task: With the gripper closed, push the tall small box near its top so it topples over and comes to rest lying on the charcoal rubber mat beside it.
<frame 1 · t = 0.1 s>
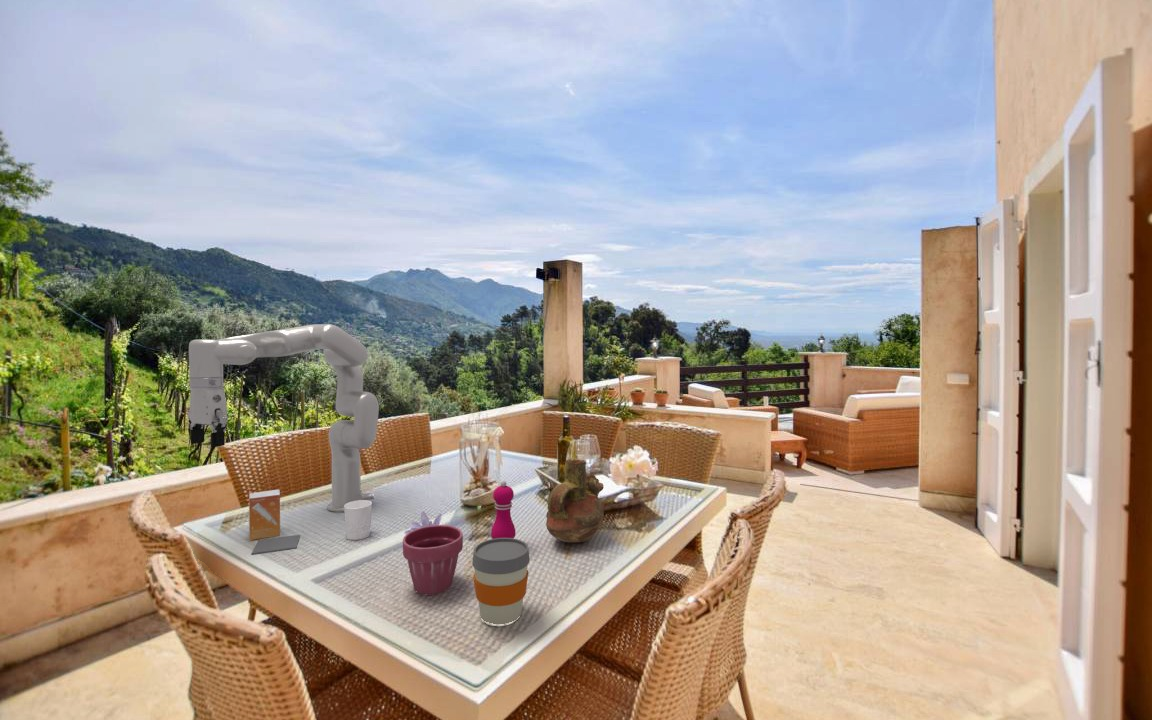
hand: (207, 444, 136), 31 cm above the table, tool pointing down, fingers open, 9 cm apart
mat: (276, 544, 143), on the table
small box: (265, 535, 151), on the table
plant pot: (433, 587, 120), on the table
water lily: (423, 553, 139), on the table
ceramic vessel: (577, 539, 150), on the table
reusable coffee cup: (500, 616, 108), on the table
pepper mill: (503, 548, 143), on the table
white cup: (358, 536, 150), on the table
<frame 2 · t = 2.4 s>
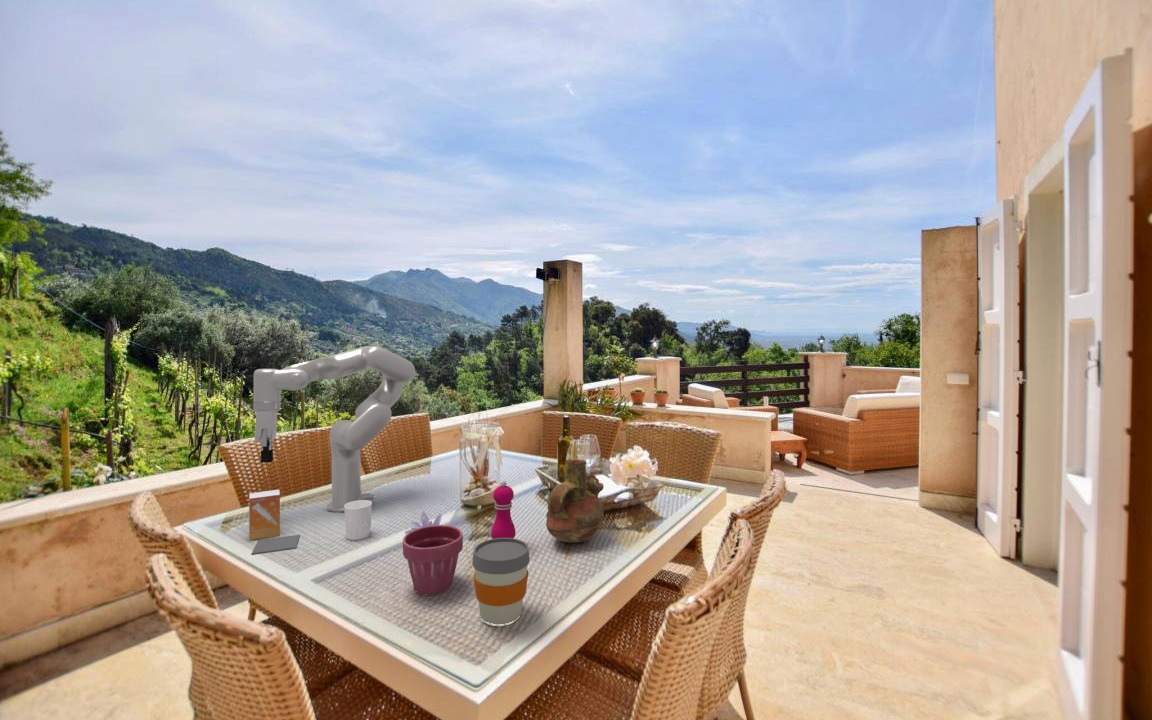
hand: (266, 461, 159), 21 cm above the table, tool pointing down, fingers closed
nothing on the table moved.
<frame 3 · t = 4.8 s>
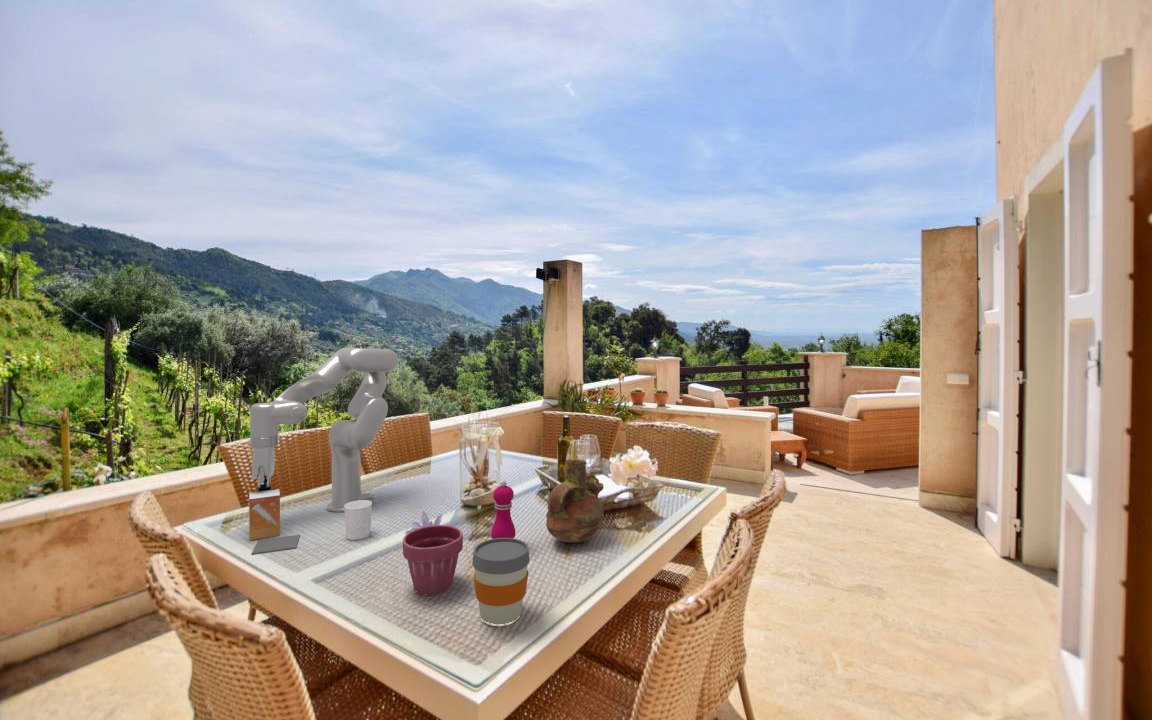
hand: (264, 499, 154), 10 cm above the table, tool pointing down, fingers closed
nothing on the table moved.
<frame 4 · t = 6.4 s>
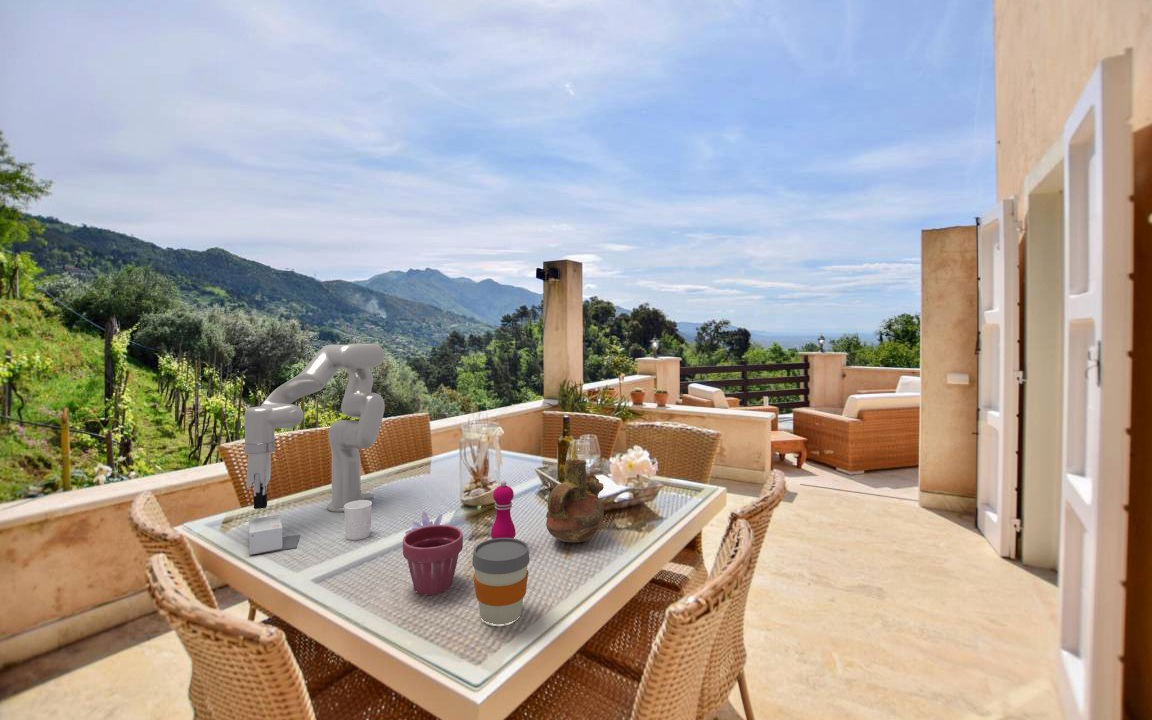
hand: (260, 507, 147), 10 cm above the table, tool pointing down, fingers closed
small box: (265, 526, 148), point 3 cm above the table, touching mat
everything else where it was.
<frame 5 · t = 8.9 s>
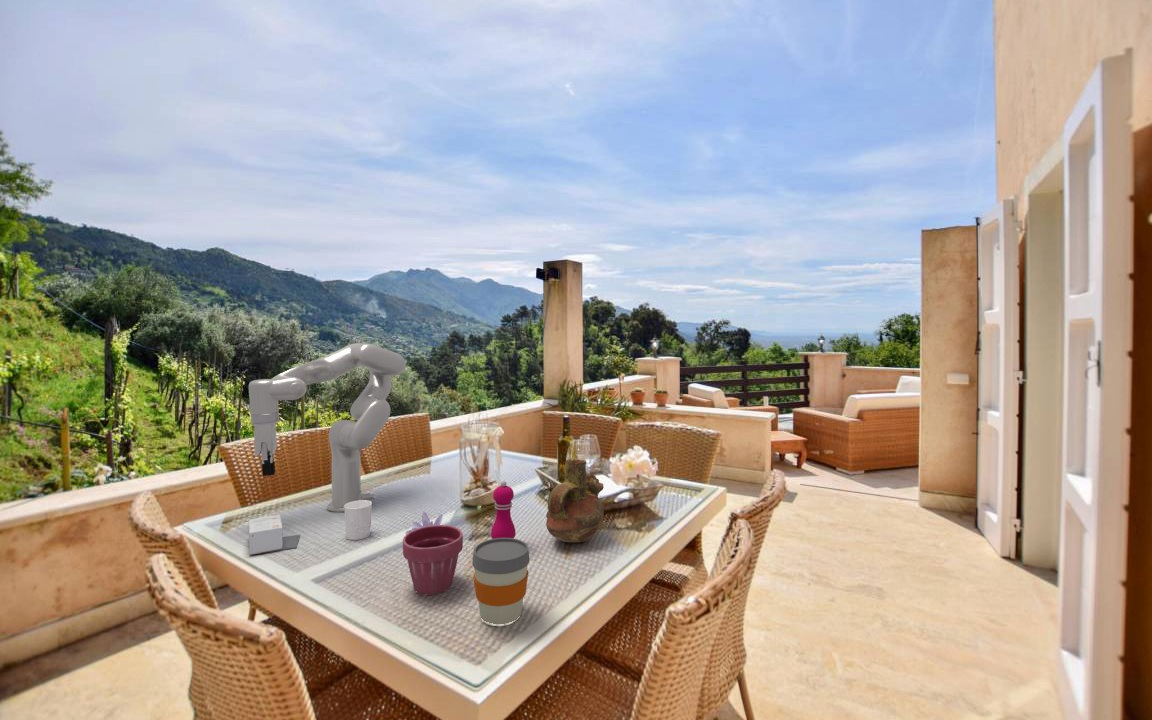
hand: (269, 474, 155), 17 cm above the table, tool pointing down, fingers closed
nothing on the table moved.
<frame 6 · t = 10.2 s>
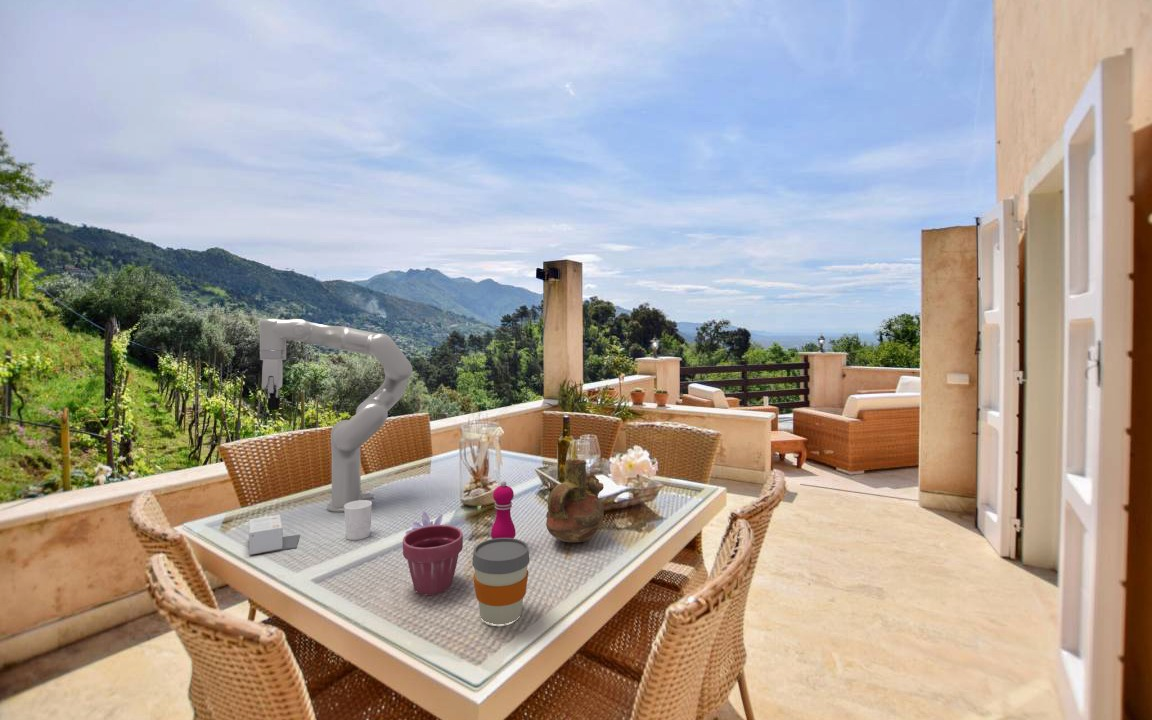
hand: (273, 409, 164), 37 cm above the table, tool pointing down, fingers closed
nothing on the table moved.
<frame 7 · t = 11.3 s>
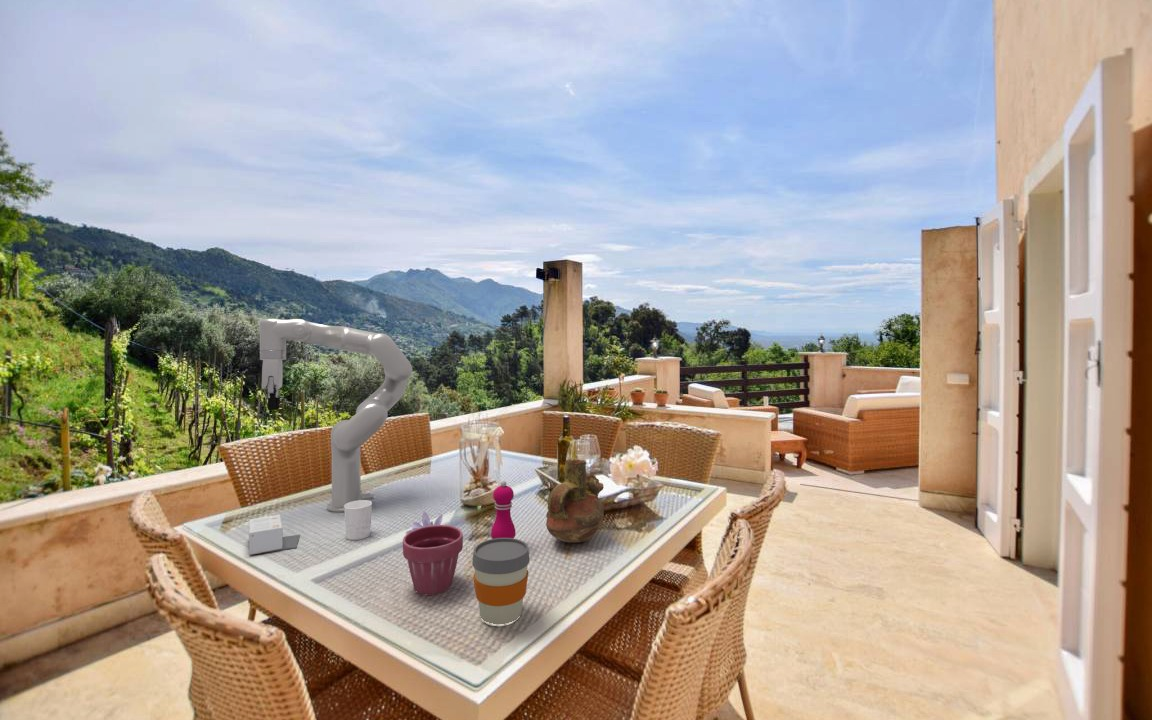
hand: (273, 409, 164), 37 cm above the table, tool pointing down, fingers closed
nothing on the table moved.
at the end: small box tilted 89°; small box 8.4 cm from the mat (horizontally); small box moved 4.4 cm from its start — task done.
